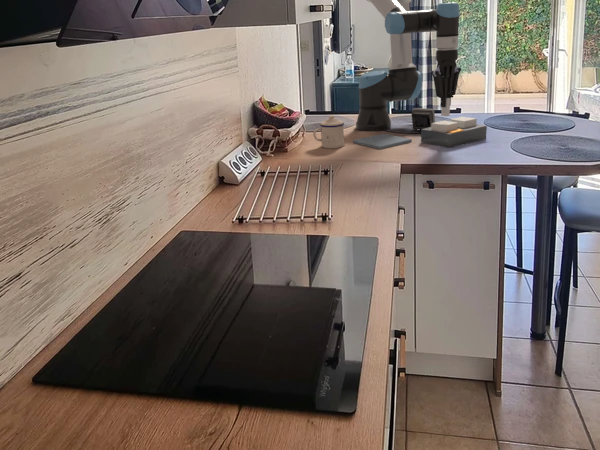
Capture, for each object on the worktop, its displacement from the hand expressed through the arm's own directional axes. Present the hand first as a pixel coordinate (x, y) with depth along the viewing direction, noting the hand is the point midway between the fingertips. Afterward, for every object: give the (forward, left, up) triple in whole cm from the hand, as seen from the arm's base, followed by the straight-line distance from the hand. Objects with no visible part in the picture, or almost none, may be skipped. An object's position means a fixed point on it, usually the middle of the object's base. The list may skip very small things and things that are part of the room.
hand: (445, 115), depth 213 cm
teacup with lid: (-28, -33, -11) cm, 45 cm away
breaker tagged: (0, 0, -6) cm, 6 cm away
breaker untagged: (0, +10, -6) cm, 12 cm away
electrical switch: (-22, +11, -11) cm, 27 cm away
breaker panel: (0, +5, -10) cm, 11 cm away
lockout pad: (-18, -15, -10) cm, 26 cm away
